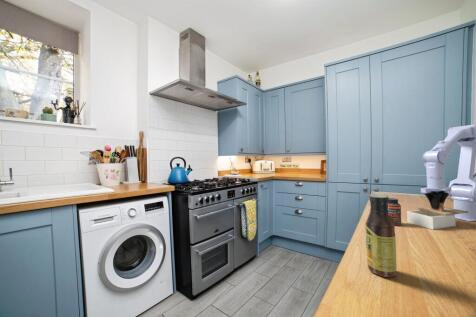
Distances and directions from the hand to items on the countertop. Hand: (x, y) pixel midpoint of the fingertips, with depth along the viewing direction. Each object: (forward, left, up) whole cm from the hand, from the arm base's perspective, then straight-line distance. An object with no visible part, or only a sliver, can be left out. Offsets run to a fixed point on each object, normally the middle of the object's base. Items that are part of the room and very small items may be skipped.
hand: (436, 208), depth 87 cm
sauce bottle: (+57, +25, -7) cm, 62 cm away
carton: (+4, 0, -7) cm, 8 cm away
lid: (-3, 0, -1) cm, 3 cm away
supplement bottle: (+18, -5, -7) cm, 20 cm away
